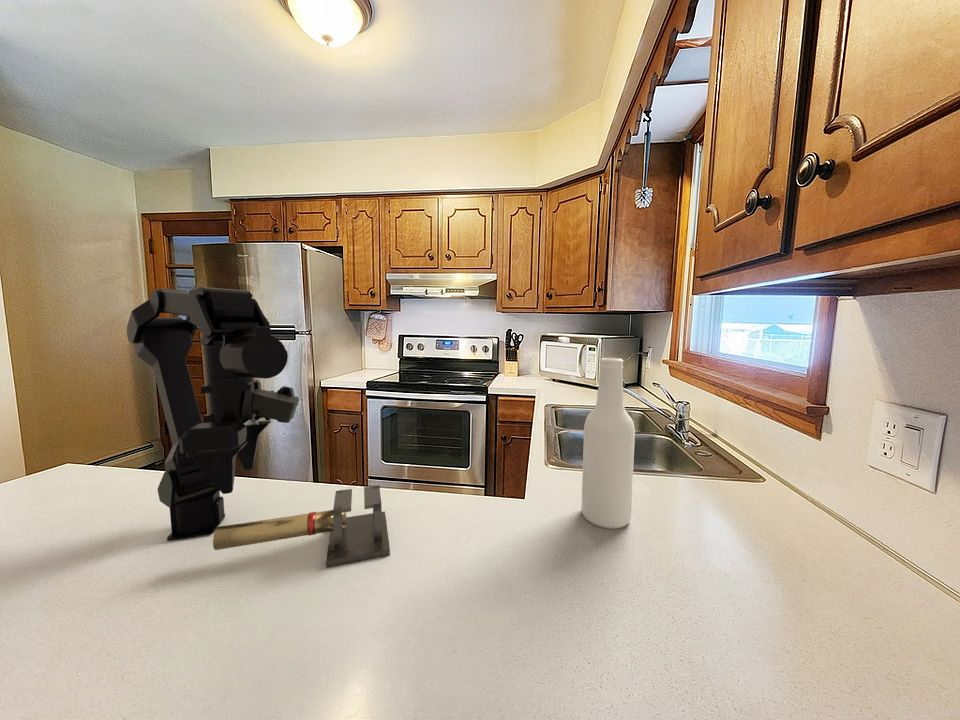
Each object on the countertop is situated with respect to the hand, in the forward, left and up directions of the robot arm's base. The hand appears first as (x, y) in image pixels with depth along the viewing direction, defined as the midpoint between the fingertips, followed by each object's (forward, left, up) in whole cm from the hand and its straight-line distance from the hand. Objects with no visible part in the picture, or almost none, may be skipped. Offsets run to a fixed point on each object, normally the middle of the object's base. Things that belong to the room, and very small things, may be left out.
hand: (239, 480), depth 53 cm
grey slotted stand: (+17, +1, -13) cm, 21 cm away
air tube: (+6, +1, -11) cm, 12 cm away
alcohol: (+61, -6, -13) cm, 62 cm away
